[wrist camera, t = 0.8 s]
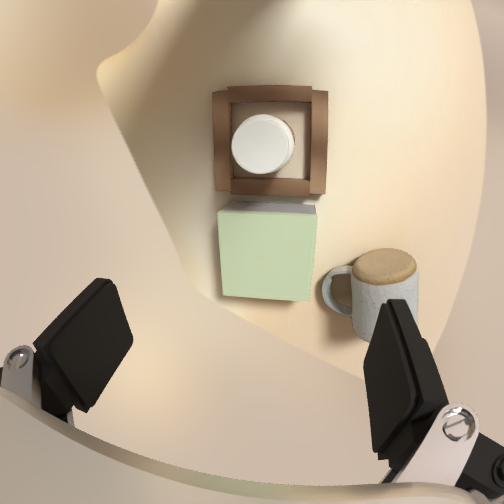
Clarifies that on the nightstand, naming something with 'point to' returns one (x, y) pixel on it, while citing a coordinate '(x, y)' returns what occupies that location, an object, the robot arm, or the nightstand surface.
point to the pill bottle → (263, 144)
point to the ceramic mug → (375, 287)
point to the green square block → (267, 250)
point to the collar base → (270, 184)
